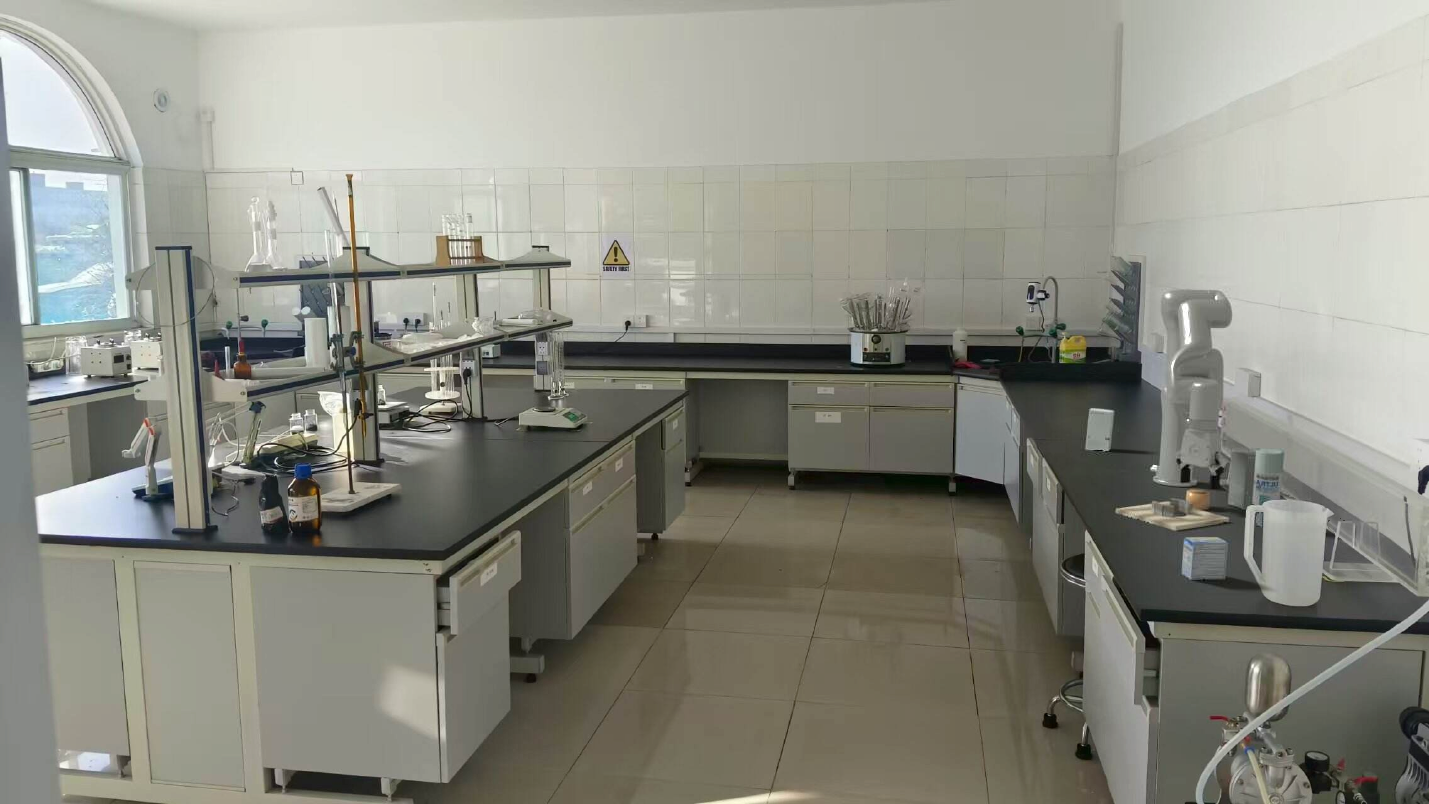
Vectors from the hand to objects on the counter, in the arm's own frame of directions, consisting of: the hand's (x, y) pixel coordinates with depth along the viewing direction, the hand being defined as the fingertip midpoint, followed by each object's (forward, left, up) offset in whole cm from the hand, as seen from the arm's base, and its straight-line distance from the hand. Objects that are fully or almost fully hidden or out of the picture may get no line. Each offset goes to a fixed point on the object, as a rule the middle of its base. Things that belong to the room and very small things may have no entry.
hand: (1199, 485), depth 293 cm
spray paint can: (+20, 0, -7) cm, 21 cm away
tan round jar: (-1, 0, -7) cm, 7 cm away
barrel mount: (+4, -16, -6) cm, 17 cm away
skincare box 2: (+4, +14, -7) cm, 17 cm away
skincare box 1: (-76, +39, -7) cm, 86 cm away
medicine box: (+44, -51, -7) cm, 68 cm away
